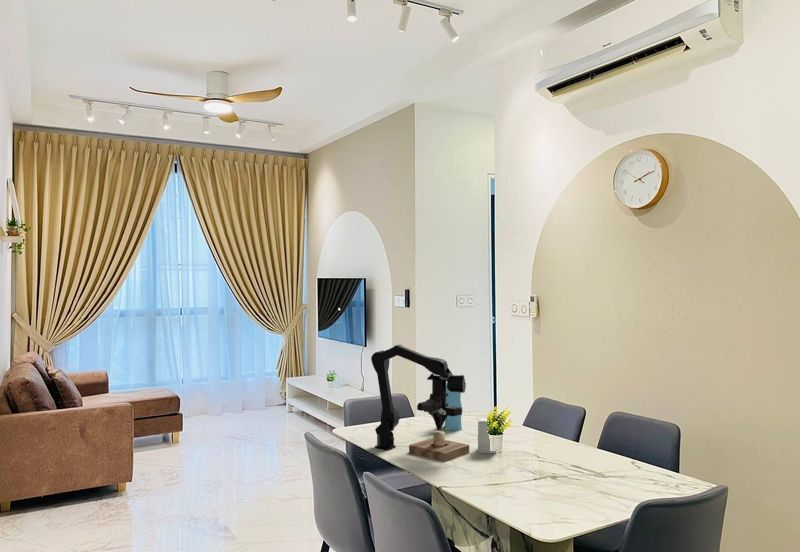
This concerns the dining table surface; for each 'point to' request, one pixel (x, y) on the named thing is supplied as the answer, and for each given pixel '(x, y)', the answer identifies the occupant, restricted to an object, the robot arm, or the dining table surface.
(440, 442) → the beech peg
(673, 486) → the dining table surface
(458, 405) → the vase
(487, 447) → the supplement box
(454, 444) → the walnut board
